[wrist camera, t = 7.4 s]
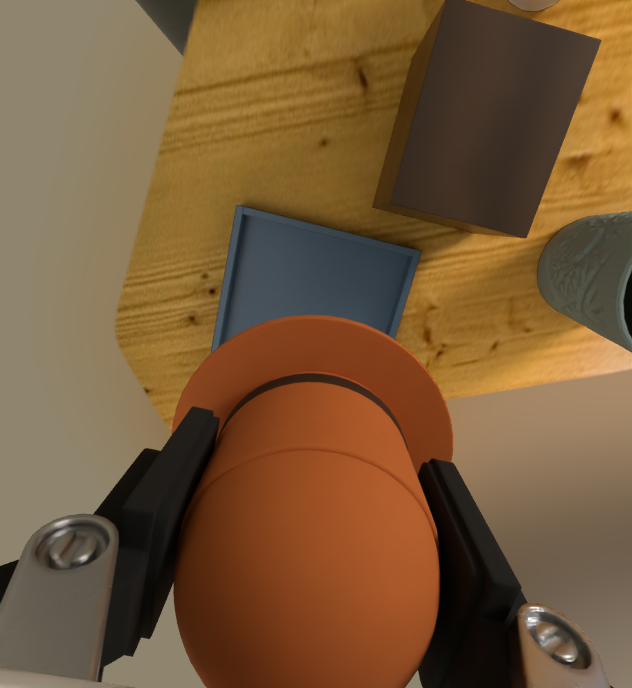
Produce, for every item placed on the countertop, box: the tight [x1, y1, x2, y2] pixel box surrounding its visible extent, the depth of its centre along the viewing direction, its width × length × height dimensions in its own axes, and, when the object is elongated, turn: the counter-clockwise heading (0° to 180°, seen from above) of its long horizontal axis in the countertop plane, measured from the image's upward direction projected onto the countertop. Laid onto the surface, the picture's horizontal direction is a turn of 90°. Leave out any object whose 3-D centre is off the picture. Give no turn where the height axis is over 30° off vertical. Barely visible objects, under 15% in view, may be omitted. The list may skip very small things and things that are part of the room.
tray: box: [211, 205, 422, 353], centre depth 35 cm, size 15×13×2 cm
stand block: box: [372, 0, 601, 238], centre depth 28 cm, size 9×11×9 cm
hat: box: [172, 315, 453, 688], centre depth 9 cm, size 8×8×7 cm
